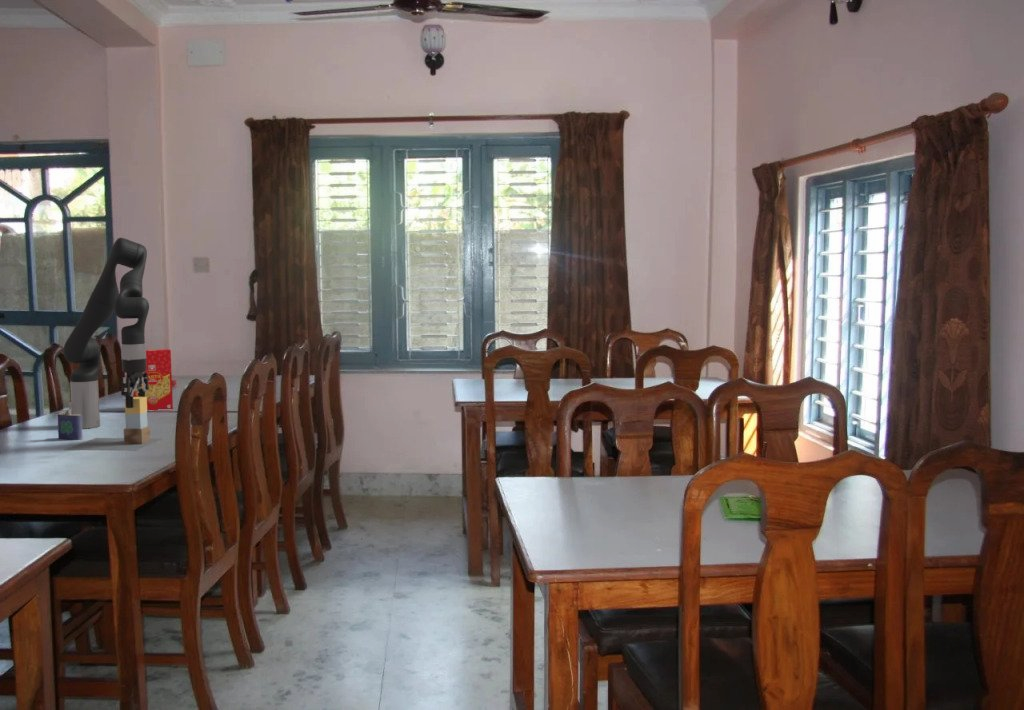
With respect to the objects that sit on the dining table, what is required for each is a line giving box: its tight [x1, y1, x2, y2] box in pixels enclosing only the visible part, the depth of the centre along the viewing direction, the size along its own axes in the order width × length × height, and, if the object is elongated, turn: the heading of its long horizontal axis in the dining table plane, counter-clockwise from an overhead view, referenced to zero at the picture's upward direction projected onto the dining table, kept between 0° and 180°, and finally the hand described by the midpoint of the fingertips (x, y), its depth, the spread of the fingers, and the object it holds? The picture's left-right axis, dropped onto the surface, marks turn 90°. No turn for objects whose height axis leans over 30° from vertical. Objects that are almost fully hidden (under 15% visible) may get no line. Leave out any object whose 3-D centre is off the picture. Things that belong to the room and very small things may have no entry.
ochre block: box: [124, 397, 148, 415], centre depth 291 cm, size 5×5×5 cm
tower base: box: [123, 425, 151, 444], centre depth 292 cm, size 6×6×5 cm
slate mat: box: [63, 437, 163, 452], centre depth 289 cm, size 24×20×1 cm
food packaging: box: [132, 348, 174, 410], centre depth 361 cm, size 15×5×25 cm, turn 120°
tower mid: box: [124, 412, 149, 429], centre depth 291 cm, size 5×5×5 cm
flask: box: [57, 408, 83, 441], centre depth 298 cm, size 9×3×11 cm, turn 74°
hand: (135, 405), depth 291 cm, fingers open, 8 cm apart
